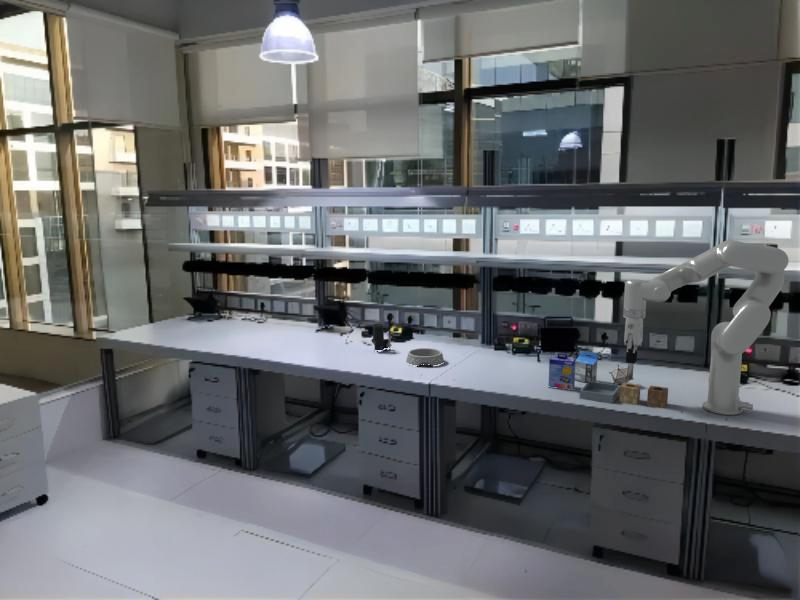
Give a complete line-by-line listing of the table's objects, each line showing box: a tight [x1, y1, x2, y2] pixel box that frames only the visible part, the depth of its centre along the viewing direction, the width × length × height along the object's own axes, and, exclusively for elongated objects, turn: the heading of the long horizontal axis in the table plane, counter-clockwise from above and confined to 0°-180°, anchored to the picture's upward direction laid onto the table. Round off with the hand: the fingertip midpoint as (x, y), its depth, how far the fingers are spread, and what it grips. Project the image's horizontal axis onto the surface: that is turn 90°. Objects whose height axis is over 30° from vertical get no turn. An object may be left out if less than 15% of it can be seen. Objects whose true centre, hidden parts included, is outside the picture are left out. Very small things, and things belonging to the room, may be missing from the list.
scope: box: [371, 323, 392, 351], centre depth 297 cm, size 8×14×10 cm
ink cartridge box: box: [548, 353, 577, 391], centre depth 234 cm, size 10×6×14 cm, turn 67°
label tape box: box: [575, 350, 599, 384], centre depth 242 cm, size 9×4×12 cm, turn 40°
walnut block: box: [646, 385, 669, 409], centre depth 213 cm, size 6×6×6 cm
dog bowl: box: [405, 347, 445, 366], centre depth 275 cm, size 17×18×5 cm
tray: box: [579, 381, 621, 404], centre depth 224 cm, size 12×14×3 cm
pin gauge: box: [627, 363, 635, 381], centre depth 216 cm, size 2×2×12 cm
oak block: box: [619, 382, 641, 406], centre depth 217 cm, size 6×6×6 cm
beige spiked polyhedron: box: [608, 364, 635, 386], centre depth 237 cm, size 9×8×10 cm
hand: (631, 361), depth 215 cm, fingers closed on pin gauge, 2 cm apart
